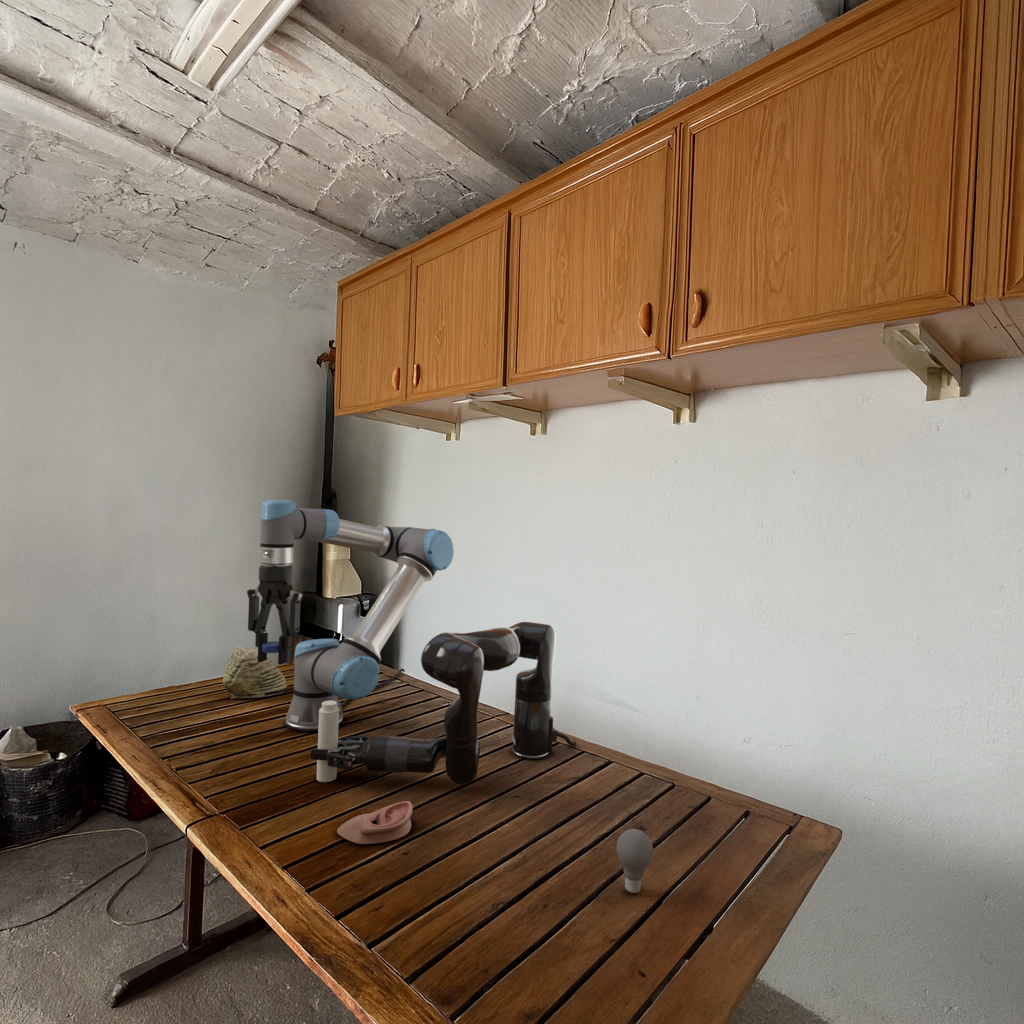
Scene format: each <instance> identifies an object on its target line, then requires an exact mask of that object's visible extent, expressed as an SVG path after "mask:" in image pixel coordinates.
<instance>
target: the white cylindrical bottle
mask: <svg viewBox="0 0 1024 1024" xmlns="http://www.w3.org/2000/svg"><path fill="white" fill-rule="evenodd" d="M338 725H339V708H338V707H337V702H336V701H324V702H322V708H320V709H319V727H318V732H317V749H329V750H332V749H338V740H339V726H340V725H339V726H338ZM335 754H338V753H335ZM327 763H328V762H327V760H316V780H317V782H320V783H330V782H333V781H335V780H336V779H337V775H338V773H337V772H338V768H336V767H331V766H328V765H327ZM335 763H336V762H335Z"/></svg>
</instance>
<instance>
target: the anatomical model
mask: <svg viewBox="0 0 1024 1024" xmlns="http://www.w3.org/2000/svg"><path fill="white" fill-rule="evenodd" d="M413 811H414V810H413V804H412V802H411V801H409V800H404V801H399V802H396V803H392V804H389V805H387V806H384V807H382V808H380V809H377V810H375V811H373V812H370V813H362V814H358V815H357V816H354V817H352V818H350V819H348V820H347V821H345V822H344V823H342V824H341V825H339V827H338V828H337V829H336V833H337V835H339V837H342V838H343V839H345V840H346V841H349V842H351V843H353V844H357V845H373V844H382V843H388V842H391V841H394V840H398V839H400V838H403V837H404V836H406V835H407V834H408V833H409V832H410V831H411V828H412V820H411V817H412V814H413Z"/></svg>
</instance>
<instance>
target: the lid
mask: <svg viewBox="0 0 1024 1024" xmlns="http://www.w3.org/2000/svg"><path fill="white" fill-rule="evenodd" d="M262 652H264V653H267V654H277V653H278V654H279V640H278V641H277V640H275V641H274V640H273V641H272V640H271V641H268V642H265V643H263V644H262Z"/></svg>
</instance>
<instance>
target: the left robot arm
mask: <svg viewBox="0 0 1024 1024" xmlns="http://www.w3.org/2000/svg"><path fill="white" fill-rule="evenodd" d="M259 519H260V537H259V538H260V540H259V543H260V544H259V563H260V564H261V565H259V567H258V581H259V584H258V585H257V587H256V588H250V589H247V591H246V594H247V598H248V613H247V615H248V617H247V630H248V631H249V632H253V633H254V634H255V642H254V646H255V648H258V661H257V662H263V661H265V660H267V655H268V653H264V652H262V644H263V643H265V642H269V640H268V639H269V633H268V632H267V629H266V628H267V625H268V621H269V617H270V613H271V609H272V607H273V606H274V605H275V608H276V610H277V613H278V618H279V624H280V630H281V635H280V636H279V638H278V642H279V652H278V656H277V658H278V659H277V660H278V661H277V665H283V664H286V663H288V657H289V656H288V653H289V650H290V649H291V647H292V636H293V635H295V634H298V633H299V632H300V629H301V628H300V627H301V603H302V600H303V597H304V592H302V591H296V590H294V587H293V586H292V581H293V571H294V570H293V569H294V568H293V566H292V564H293V563H294V547H295V546H294V545H295V540H306V541H312V542H316V543H322V544H327V545H333V546H338V547H343V548H347V549H354V550H357V551H364V552H369V553H370V554H371V555H372V556H374V557H377V558H382V559H385V560H389V561H392V562H394V563H397V565H398V567H397V568H396V570H395V571H394V573H393V574H392V575H391V577H390V579H389V580H388V581H387V583H386V585H385V586H384V588H383V589H382V591H381V592H380V594H379V595H378V597H377V599H375V601H374V603H373V605H372V606H371V607H370V609H369V610H368V612H367V613H366V615H365V616H364V618H363V619H362V621H361V622H360V624H359V626H358V627H357V629H356V630H355V632H354V633H353V634H352V635H351V636H347V637H344V638H343V640H342V641H341V643H340V641H339V639H337V638H318V639H308V640H304V641H300V642H299V643H297V644H296V646H295V650H294V655H293V657H294V672H293V673H294V674H293V695H292V696H293V697H292V699H291V702H290V704H289V708H288V711H287V713H286V715H285V726H286V728H287V729H289V730H291V731H294V732H295V731H296V732H301V733H316V732H317V733H318V727H319V709H320V708H322V702H324V701H336V702H337V707H338V708H339V725H338V727H339V726H340V725H342V723H343V722H344V714H343V709H342V707H344V706H345V705H346V704H347V703H348V702H349V701H358V700H362V699H364V698H366V697H367V696H369V695H370V694H371V693H372V692H373V691H374V689H377V688H379V687H382V686H383V685H386V684H388V683H389V682H391V681H393V680H394V679H396V678H397V677H398V676H399V675H400V674H401V673H402V672H403V673H404V672H405V671H406V670H405V668H404V667H403V668H402V667H401V668H400V669H399V670H398V672H399V673H398V672H396V673H395V674H394V675H392V676H391V677H390V678H388V679H386V680H384V681H382V682H380V683H378V682H379V680H380V675H379V674H380V673H381V670H380V664H381V661H382V657H381V651H382V649H383V648H384V646H385V645H386V644H387V641H388V640H389V638H390V637H391V635H392V633H393V632H394V631H395V628H396V627H397V625H399V622H400V621H401V619H402V618H403V616H404V615H405V613H406V612H407V610H408V608H409V606H410V605H411V603H412V602H413V600H414V598H415V597H416V595H417V594H418V592H419V591H420V589H421V587H422V585H423V584H424V583H425V582H430V581H432V579H433V578H434V576H435V575H436V574H437V572H439V571H440V572H441V571H444V570H446V569H448V568H449V567H450V566H451V564H452V562H453V560H454V556H455V555H454V553H455V552H454V551H455V549H454V544H453V541H452V538H451V536H450V535H449V534H448V533H447V532H445V531H444V530H440V529H436V528H421V527H413V526H412V527H411V526H387V525H383V524H380V525H377V526H372V525H368V524H364V523H360V522H355V521H351V520H346V519H342V518H340V517H339V515H338V513H337V512H336V511H335V510H333V509H325V508H303V507H296V502H295V501H294V500H286V499H285V500H283V499H266V500H264V501H263V502H262V505H261V512H260V518H259ZM260 596H261V601H260ZM289 599H290V604H289ZM289 605H290V608H289ZM289 609H290V610H289ZM405 673H406V672H405ZM340 699H342V700H344V701H343V702H340Z"/></svg>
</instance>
